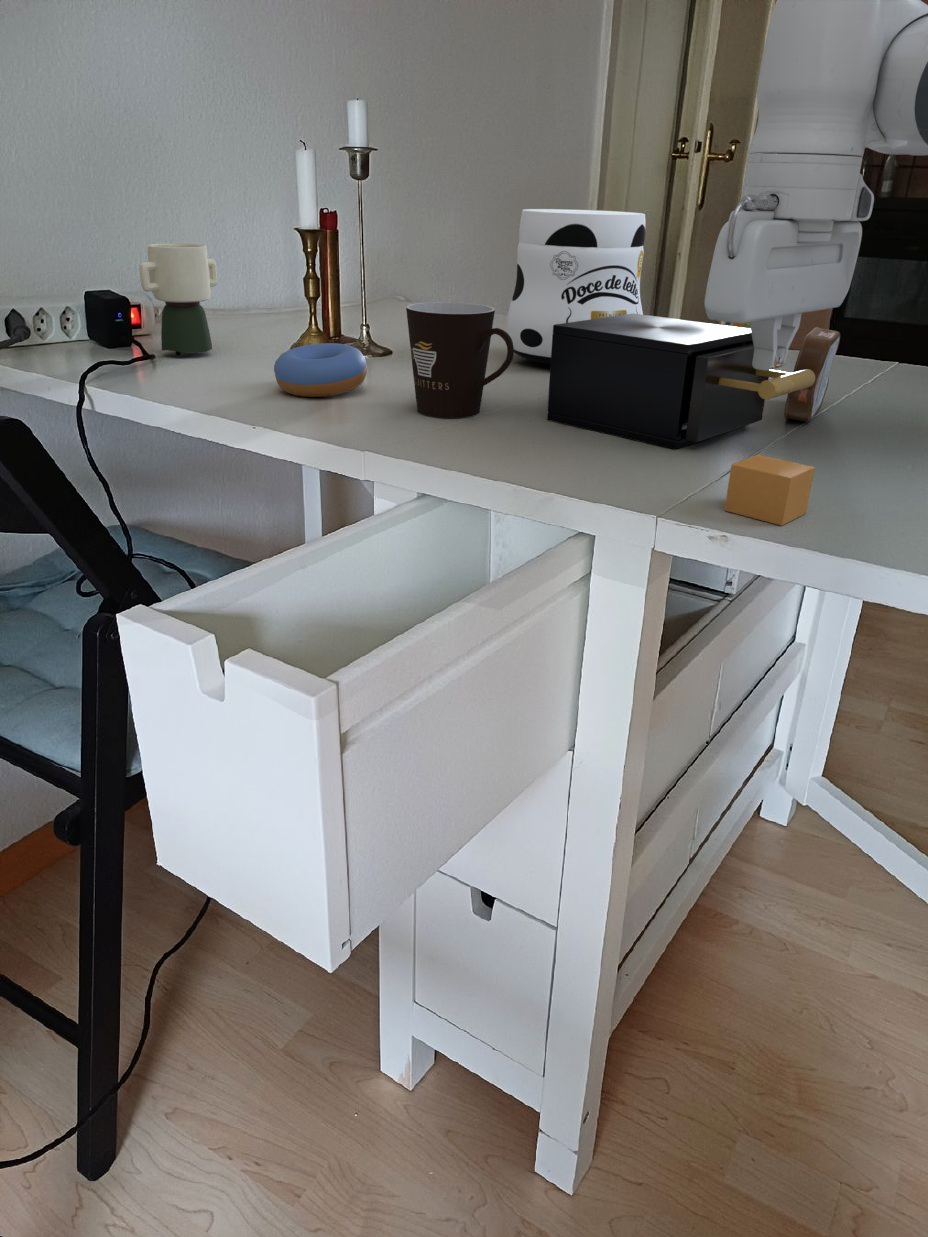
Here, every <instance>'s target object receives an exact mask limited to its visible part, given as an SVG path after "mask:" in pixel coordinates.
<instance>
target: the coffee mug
mask: <svg viewBox="0 0 928 1237" xmlns="http://www.w3.org/2000/svg"><path fill="white" fill-rule="evenodd" d="M405 311H406V321H407V330H408V337H409V338H408V339H409V348H410V358H411V366H412V375H413V376H412V377H413V384H414V394H415V404H416V411H417V413H419V414H421V415H422V416H426V417H431V418H438V419H464V418H465V419H466V418H472V417H475V416H477V415H479V414H480V413H481V407H482V406H481V405H482V399H483V395H484V394H483V392H484V386H487V385H488V384H490V383H491V382H493V381H495V380H496V379H497V378H499V377H500V376H502V374H503V373H504V372H505V371H506V370H507V369H508V368H509V366H510V365H511V363H512V362H513V358H514V354H515V353H514V348H513V341H512V339H511V337H510V336H509V335H508V333H507V332H506V331H505V330H504V329H502V328H500V327H493V326H494V319H495V313H496V308H495V307H493V306H489V305H485V304H479V303H469V302H453V301H451V302H450V301H449V302H448V301H433V302H432V301H431V302H430V301H429V302H417V303H411V304H408V305H406V306H405ZM493 335H497V336H499V337H500V338H501V339H502V340H503V341H504V343H505V345H506V349H507V353H506V358H505V360H504V362H503V363H502V364H501V366H500V367H499V368H498V369H497V370H495V371H494V372H493V373H491V374H489V375H488V376H487V377H486V373H487V366H488V365H487V364H488V360H489V352H490V347H491V339H492V336H493Z"/></svg>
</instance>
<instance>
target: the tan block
mask: <svg viewBox="0 0 928 1237" xmlns="http://www.w3.org/2000/svg"><path fill="white" fill-rule="evenodd" d="M730 466H731V467H730V471H729V472H730V473H729V479H728V486H727V491H726V498H725V504H724V511H725V512H729V513H733V514H735V515H740V516H743V517H747V518H751V519H753V520H758V521H763V522H765V523H770V524H774V525H776V526H780V527H782V526H784V525H786V524H788V523H790V522H792V521H794V520H796V519H797V518H800V517H802V516H804V515H805V514H807V511H808V507H809V506H808V505H809V500H810V496H811V490H812V485H813V480H814V474H815V471H816V470H815V469H816V467H815V466H812V465H807V464H803V463H798V462H793V461H790V460H784V459H780V458H776V457H771V456H766V455H762V454H755V455H752V456H749V457H747V458H744V459H743V460H739V461H737V462H735V463H734V462H733V463H732V464H731V465H730Z"/></svg>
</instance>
